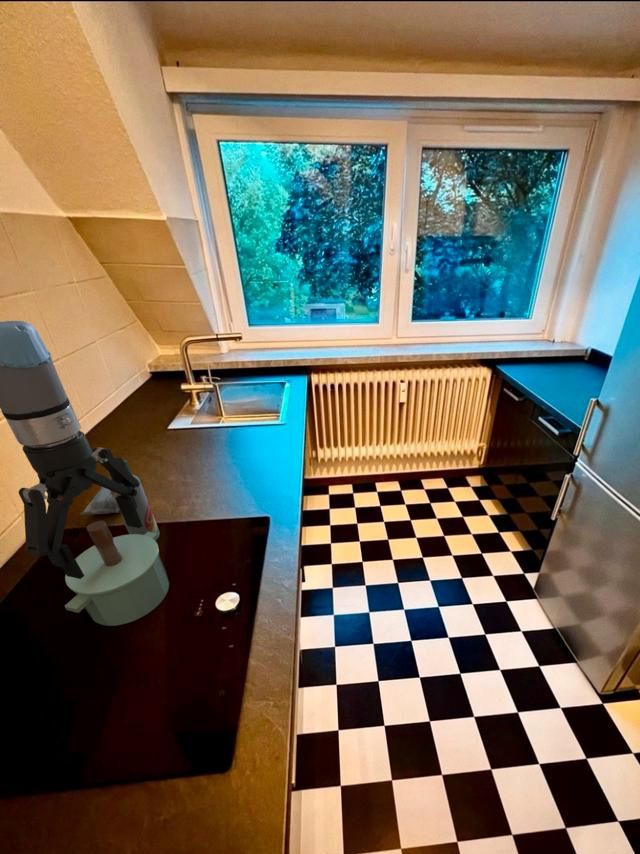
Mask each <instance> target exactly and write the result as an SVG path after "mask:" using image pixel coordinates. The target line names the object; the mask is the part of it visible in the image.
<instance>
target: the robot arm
mask: <svg viewBox="0 0 640 854" xmlns="http://www.w3.org/2000/svg"><path fill="white" fill-rule="evenodd" d="M52 358H53V357H52V355H51V353H50V351H49V350H48V349H47V346H46V345H45V343H44V341H43V339H42V337H41V335H40V334H39V332H38V330H37V329H36V327H35V326H34V325H32V324H31V323H29V322H26V321H23V320H6V321H0V410H1V413H2V416H3V417H4V419H5V420H6V422H7V424H8V426H9V428H10V429H11V431H12V433H13V435H14V437H15V439H16V441H17V443H18V444H19V445H22V451H23V453H24V455H25V457H26V459H27V460H28V462H29V465H30V466H31V468H32V469H33V470H34V471H35V472H36V474H37V475H38V478H39V480H38V481H39V482H38V483H37V484H35V485H33V486H30V487H21V488H20V489H19V490H18V495H19V497H20V499H21V501H22V504H23V513H24V514H23V515H24V534H25V553H26V554H29V555H33V556H37V557H45V556H47V557H48V559H49V560H50V563H51V564H52V565H53V566H56V567H60V568H61V569H62V571H63V572H64V574H65V576H66V575H67V576H69V577H73V578H78V579H81V578H82V577H84V574H83V572H82V570H81V569H80V567H79V565H78V563H77V562H76V560H75V559H76V557H75V556H74V554H73V552H72V551H71V549H70V548H69V546H68V544H63V543H62V542H63V539H64V538H63V537H64V533H65V528H66V524H67V519H68V513H69V509H70V507H71V506H72V505H73V503H74V498H77V497H78V496H80V495H81V494H82V493H83V492H84V491H86V490H89V489H91V488H93V484H94V485H96V486H99V487H100V488H102V487H104V488H106V489H108V490H111V491H113V492H116V493H118V494H120V495H121V496H119V495H118V496H117V497H115V499H116V501H117V503H118V505H119V508H120V510H121V512H122V514H123V517H124V519H125V521H126V524H127V526H130V527H136V528H140V527H142V523H141V521H140V518H139V516H138V514H137V511H136V508H137V503H136V501H135V498H134V496H136V495H137V490H134V489H135V487H139V485H140V482H141V481H140V482H139V481H138V480H137V479H136V478H135V477H134V476H133V475H134V474H133V473H132V474H130V473H129V472H128V471H127V470H126V469H125V468H124V467H123V466H122V465H121V464H120V463H119V462H118V461H116V460H115V459H114V458H115V457H114V454H113V453H112V451H111V449H110V448H106V447H97V446H95V447H93V448H91V446H90V444H89V441H88V439H87V437H86V434H85V433H84V432H83V431H81V429H82V426H81V424H80V422H79V419H78V417H77V415H76V413H75V411H74V408H73V406H72V404H71V401H70V399H69V397H68V395H67V393H66V390H65V388H64V386H63V383H62V381H61V379H60V377H59V374H58V371H57V369H56V367H55V364H54V362H53V359H52ZM98 464H99V465H100V466H102V467H103V468H104V469H105V470H106V471H107V470H108V471H109V472H110V473H111V474H112V475H113V476H114V477H116V478H117V479H118V480H119V481H120V482H121V483H123V484H124V485H122V484H120V483H117V482H115V481H113V480H111V479H110V478H108V477H107V476H106V475H103V474H102V473H98V472H96V471H97V465H98ZM46 492H48V493H47V495H46ZM59 496H60V497H62V499H61V498H59ZM45 500H46V501H45ZM47 504H48V505H47Z"/></svg>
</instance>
